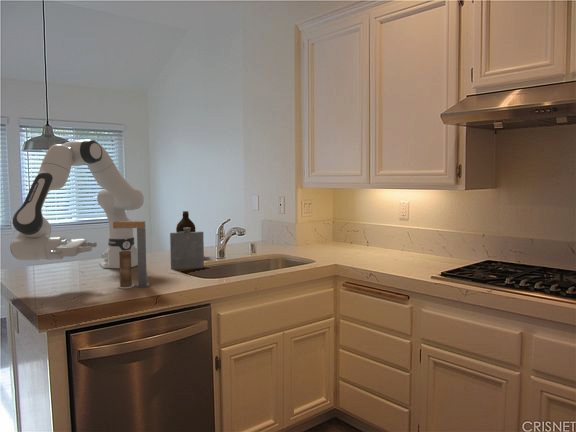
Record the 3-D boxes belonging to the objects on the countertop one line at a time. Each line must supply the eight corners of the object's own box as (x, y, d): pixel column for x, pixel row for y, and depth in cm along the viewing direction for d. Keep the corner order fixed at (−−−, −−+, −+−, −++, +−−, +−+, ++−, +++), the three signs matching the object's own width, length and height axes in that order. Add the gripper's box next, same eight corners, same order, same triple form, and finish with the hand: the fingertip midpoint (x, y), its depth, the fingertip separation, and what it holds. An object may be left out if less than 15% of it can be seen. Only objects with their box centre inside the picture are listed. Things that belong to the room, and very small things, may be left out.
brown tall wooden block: (118, 285, 190) (117, 251, 189) (129, 284, 193) (128, 250, 192) (122, 287, 187) (121, 252, 186) (133, 285, 190) (132, 251, 189)
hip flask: (203, 266, 233) (202, 226, 231) (204, 267, 229) (204, 227, 227) (170, 268, 228) (169, 227, 226) (171, 270, 224) (170, 228, 222)
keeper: (114, 289, 186) (112, 222, 183) (117, 285, 193) (115, 221, 190) (148, 287, 188) (146, 222, 186) (149, 283, 195) (148, 220, 193)
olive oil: (199, 254, 269) (198, 210, 267) (189, 257, 259) (188, 212, 257) (183, 253, 272) (182, 210, 270) (173, 256, 262) (172, 211, 260)
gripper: (48, 244, 173) (87, 243, 176) (63, 236, 193) (98, 235, 196) (49, 261, 174) (88, 259, 177) (64, 251, 194) (99, 249, 197)
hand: (94, 246), depth 187 cm, fingers open, 8 cm apart
